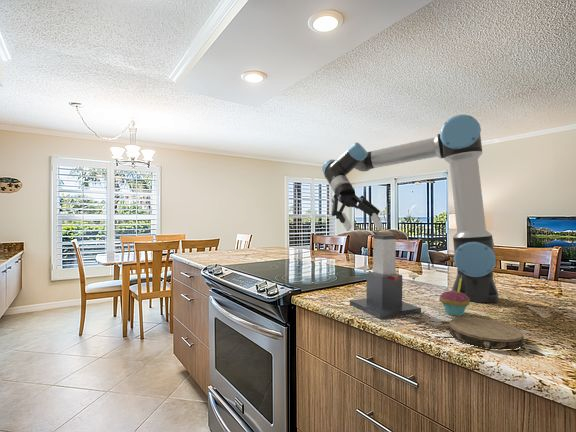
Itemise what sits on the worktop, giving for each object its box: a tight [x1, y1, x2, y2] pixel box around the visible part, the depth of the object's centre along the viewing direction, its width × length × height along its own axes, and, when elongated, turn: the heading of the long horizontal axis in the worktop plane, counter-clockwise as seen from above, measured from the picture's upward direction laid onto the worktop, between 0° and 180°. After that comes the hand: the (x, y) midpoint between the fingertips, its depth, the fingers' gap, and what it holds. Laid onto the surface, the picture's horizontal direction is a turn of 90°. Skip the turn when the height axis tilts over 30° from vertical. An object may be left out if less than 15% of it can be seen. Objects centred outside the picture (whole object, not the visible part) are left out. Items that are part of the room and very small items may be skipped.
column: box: [372, 234, 397, 276], centre depth 106 cm, size 5×5×22 cm
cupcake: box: [438, 276, 471, 317], centre depth 100 cm, size 9×8×12 cm
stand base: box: [349, 271, 422, 320], centre depth 106 cm, size 16×16×12 cm
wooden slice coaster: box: [449, 316, 524, 349], centre depth 81 cm, size 16×16×3 cm
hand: (365, 228), depth 115 cm, fingers open, 13 cm apart
